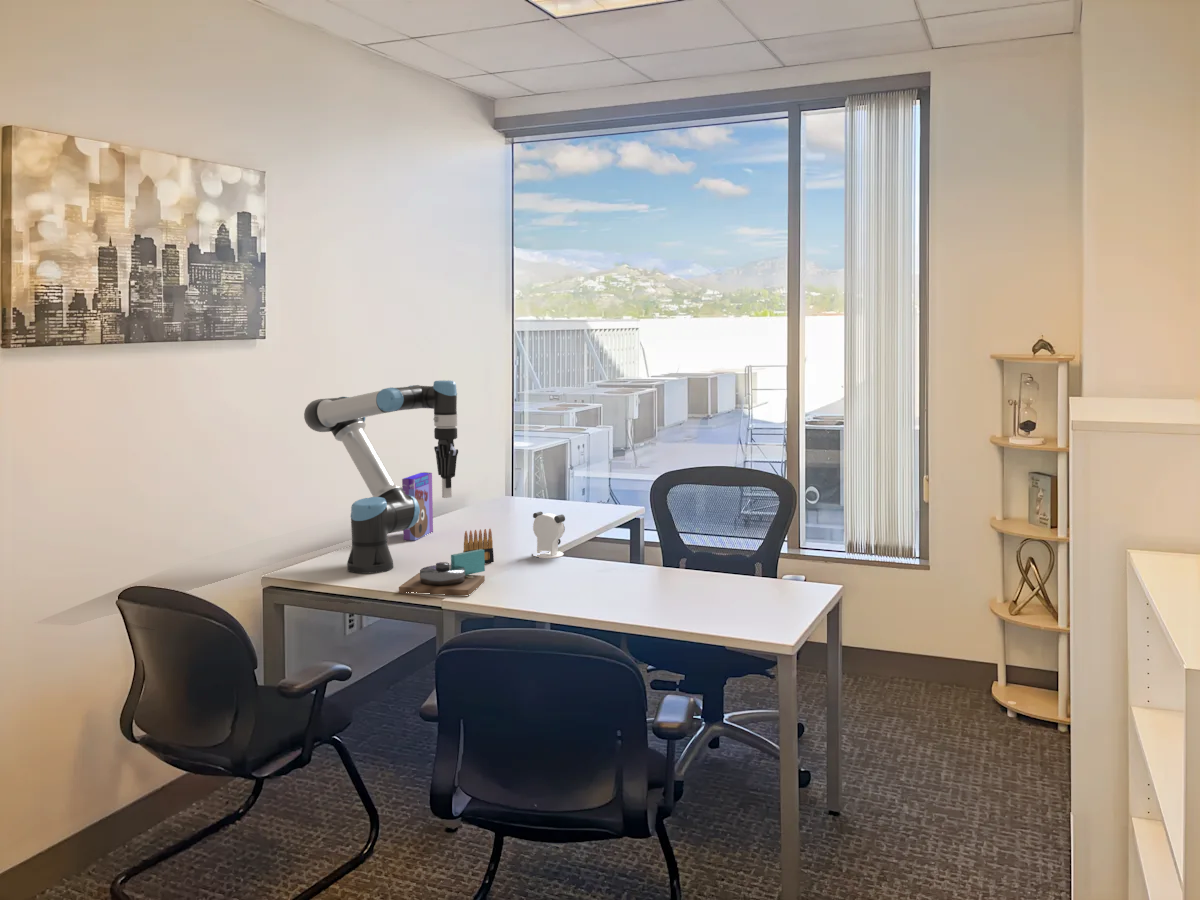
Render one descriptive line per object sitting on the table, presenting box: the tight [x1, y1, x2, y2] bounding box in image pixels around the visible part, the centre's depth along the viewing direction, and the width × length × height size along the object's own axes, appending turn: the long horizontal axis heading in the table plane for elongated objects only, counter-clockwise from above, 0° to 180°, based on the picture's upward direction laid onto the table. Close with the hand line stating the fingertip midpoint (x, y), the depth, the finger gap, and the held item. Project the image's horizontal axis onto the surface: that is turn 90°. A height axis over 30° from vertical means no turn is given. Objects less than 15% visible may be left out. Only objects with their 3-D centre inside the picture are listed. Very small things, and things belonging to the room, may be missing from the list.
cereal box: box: [401, 471, 434, 542], centre depth 390 cm, size 17×5×24 cm, turn 167°
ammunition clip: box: [462, 528, 495, 564], centre depth 345 cm, size 11×2×12 cm, turn 118°
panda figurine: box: [532, 511, 566, 559], centre depth 358 cm, size 12×11×15 cm
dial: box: [419, 549, 486, 585], centre depth 316 cm, size 23×14×7 cm, turn 135°
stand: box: [398, 572, 486, 596], centre depth 314 cm, size 22×18×2 cm
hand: (446, 497), depth 336 cm, fingers closed
